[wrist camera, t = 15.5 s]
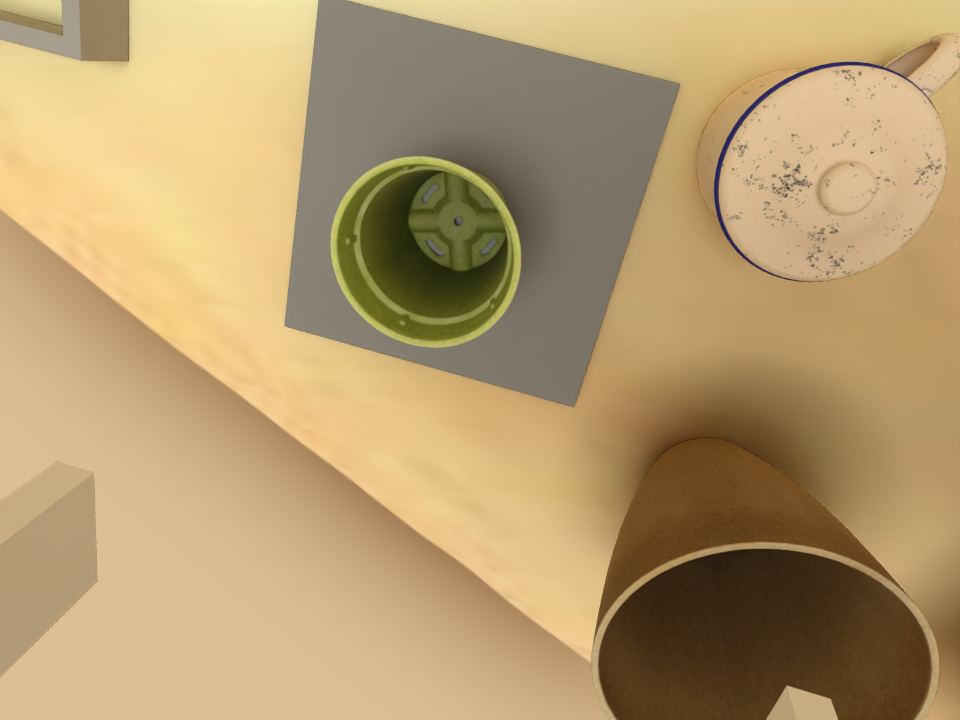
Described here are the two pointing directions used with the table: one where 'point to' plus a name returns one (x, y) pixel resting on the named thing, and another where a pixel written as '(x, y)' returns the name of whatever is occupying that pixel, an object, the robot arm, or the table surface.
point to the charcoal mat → (496, 155)
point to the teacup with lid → (829, 162)
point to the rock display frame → (75, 31)
